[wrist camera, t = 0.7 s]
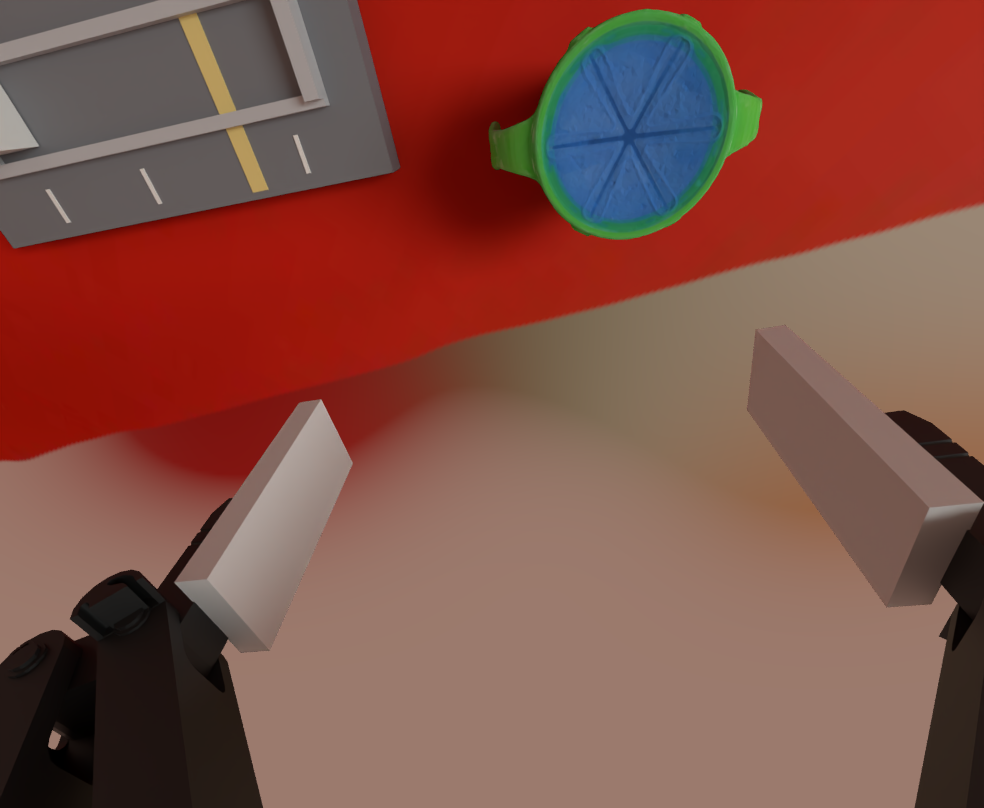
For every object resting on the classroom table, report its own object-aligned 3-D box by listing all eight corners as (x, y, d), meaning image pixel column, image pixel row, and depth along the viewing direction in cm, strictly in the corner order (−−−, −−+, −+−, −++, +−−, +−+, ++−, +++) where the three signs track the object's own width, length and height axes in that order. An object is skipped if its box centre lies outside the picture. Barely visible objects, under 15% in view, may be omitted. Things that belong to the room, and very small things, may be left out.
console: (-131, -5, 31) (-210, -16, 28) (319, -143, 26) (291, -176, 23) (39, 240, 39) (-5, 254, 36) (400, 167, 35) (388, 175, 32)
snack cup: (737, 30, 30) (824, 5, 21) (697, 206, 36) (753, 242, 27) (492, 32, 30) (483, 9, 22) (493, 205, 36) (485, 240, 28)
